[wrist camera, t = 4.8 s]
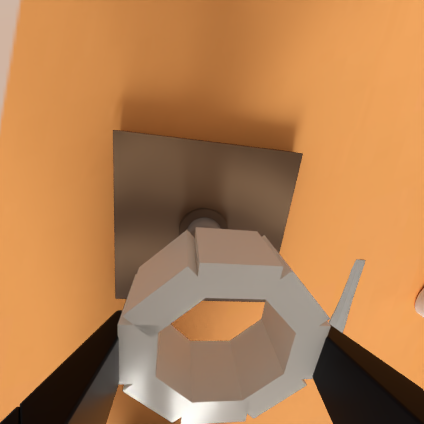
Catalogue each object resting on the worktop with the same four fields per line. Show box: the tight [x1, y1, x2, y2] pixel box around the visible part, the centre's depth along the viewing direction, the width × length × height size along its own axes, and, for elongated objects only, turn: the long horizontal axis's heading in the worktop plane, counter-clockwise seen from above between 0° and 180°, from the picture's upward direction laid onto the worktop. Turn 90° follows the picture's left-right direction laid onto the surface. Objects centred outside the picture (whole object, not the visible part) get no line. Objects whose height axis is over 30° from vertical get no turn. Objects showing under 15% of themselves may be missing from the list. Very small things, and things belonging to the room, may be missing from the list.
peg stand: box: [113, 130, 303, 302], centre depth 15 cm, size 12×12×6 cm
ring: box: [117, 227, 331, 424], centre depth 8 cm, size 6×6×2 cm
